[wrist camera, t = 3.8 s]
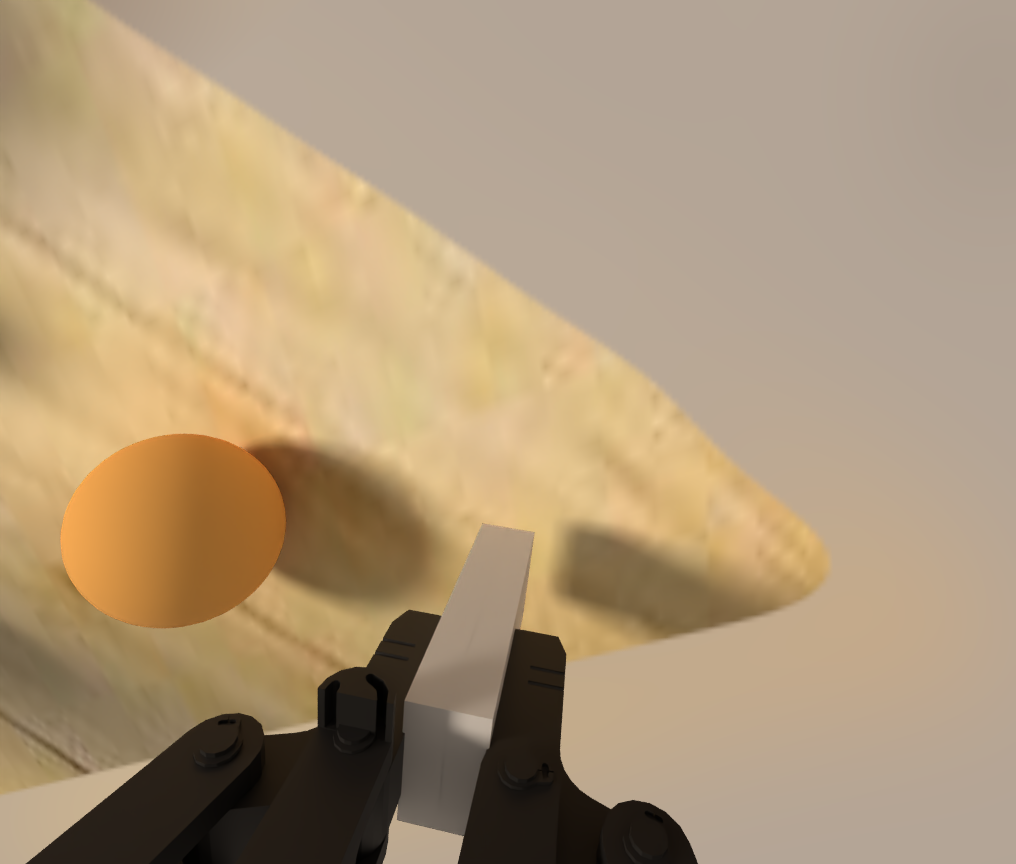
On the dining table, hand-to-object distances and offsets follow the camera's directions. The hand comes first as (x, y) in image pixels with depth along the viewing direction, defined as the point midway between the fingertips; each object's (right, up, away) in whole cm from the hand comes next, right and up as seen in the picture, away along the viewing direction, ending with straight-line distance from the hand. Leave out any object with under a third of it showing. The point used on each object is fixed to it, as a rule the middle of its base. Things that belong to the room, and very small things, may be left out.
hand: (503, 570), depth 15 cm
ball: (-9, +1, 0) cm, 9 cm away
